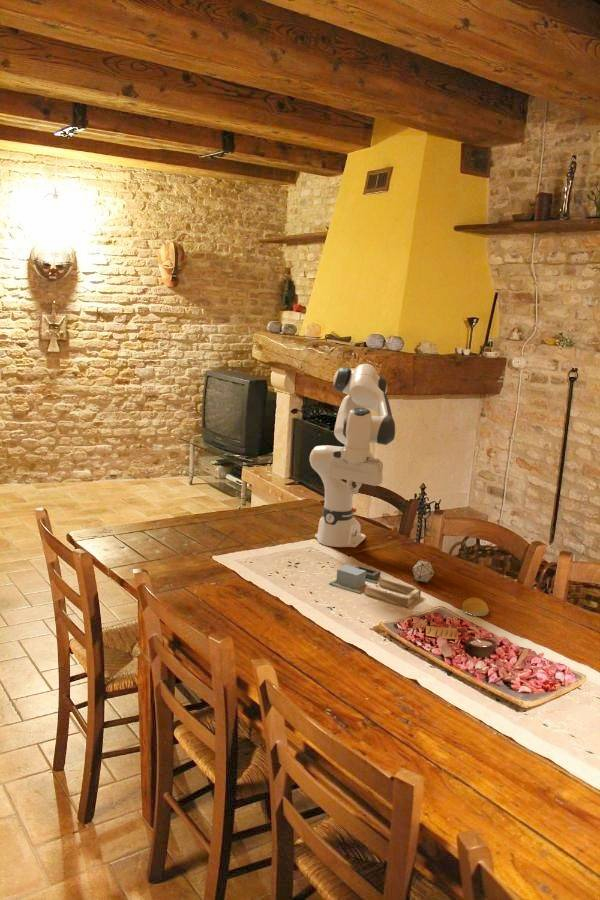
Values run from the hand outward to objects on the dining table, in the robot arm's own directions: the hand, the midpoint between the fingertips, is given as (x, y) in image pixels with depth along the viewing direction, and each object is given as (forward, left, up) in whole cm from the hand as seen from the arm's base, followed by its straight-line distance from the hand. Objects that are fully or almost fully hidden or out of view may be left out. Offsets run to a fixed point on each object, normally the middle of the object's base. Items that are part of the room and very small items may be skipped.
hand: (353, 493), depth 258 cm
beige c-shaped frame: (+8, +22, -29) cm, 38 cm away
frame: (+8, +8, -29) cm, 31 cm away
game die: (-10, +25, -29) cm, 40 cm away
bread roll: (+2, +48, -30) cm, 57 cm away
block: (+9, +7, -29) cm, 31 cm away
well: (-1, +7, -29) cm, 30 cm away
